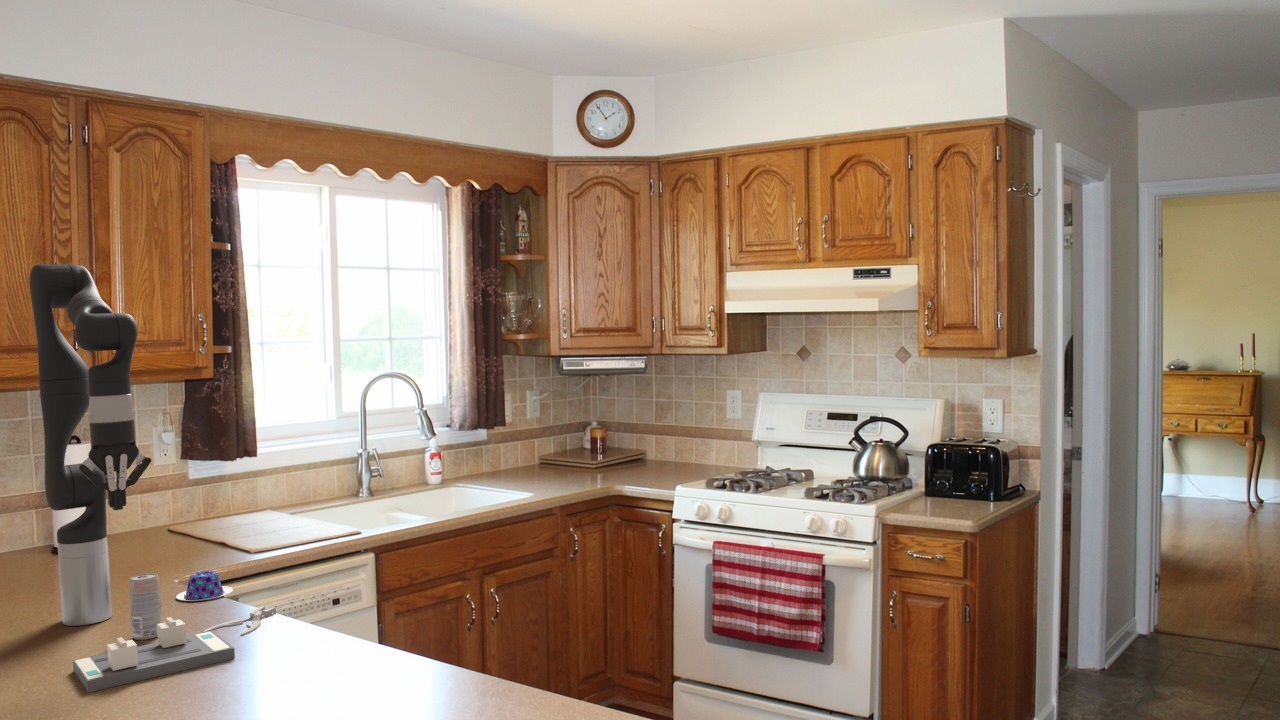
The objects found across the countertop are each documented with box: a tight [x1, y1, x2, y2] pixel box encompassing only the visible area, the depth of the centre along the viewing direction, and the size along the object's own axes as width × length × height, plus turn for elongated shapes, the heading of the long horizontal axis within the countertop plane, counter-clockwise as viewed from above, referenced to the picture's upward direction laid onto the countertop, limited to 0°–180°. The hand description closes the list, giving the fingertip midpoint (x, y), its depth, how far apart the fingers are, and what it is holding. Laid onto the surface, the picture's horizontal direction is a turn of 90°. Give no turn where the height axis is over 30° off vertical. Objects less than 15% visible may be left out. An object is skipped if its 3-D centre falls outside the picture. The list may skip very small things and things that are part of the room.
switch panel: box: [72, 630, 236, 694], centre depth 183 cm, size 14×24×2 cm, turn 128°
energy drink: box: [128, 572, 163, 641], centre depth 200 cm, size 5×5×12 cm
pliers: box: [201, 605, 277, 637], centre depth 207 cm, size 10×2×15 cm
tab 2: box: [157, 616, 187, 648], centre depth 188 cm, size 4×4×4 cm
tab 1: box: [106, 636, 138, 671], centre depth 177 cm, size 4×4×4 cm
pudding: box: [175, 570, 234, 602], centre depth 230 cm, size 12×12×5 cm
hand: (117, 509), depth 192 cm, fingers closed
